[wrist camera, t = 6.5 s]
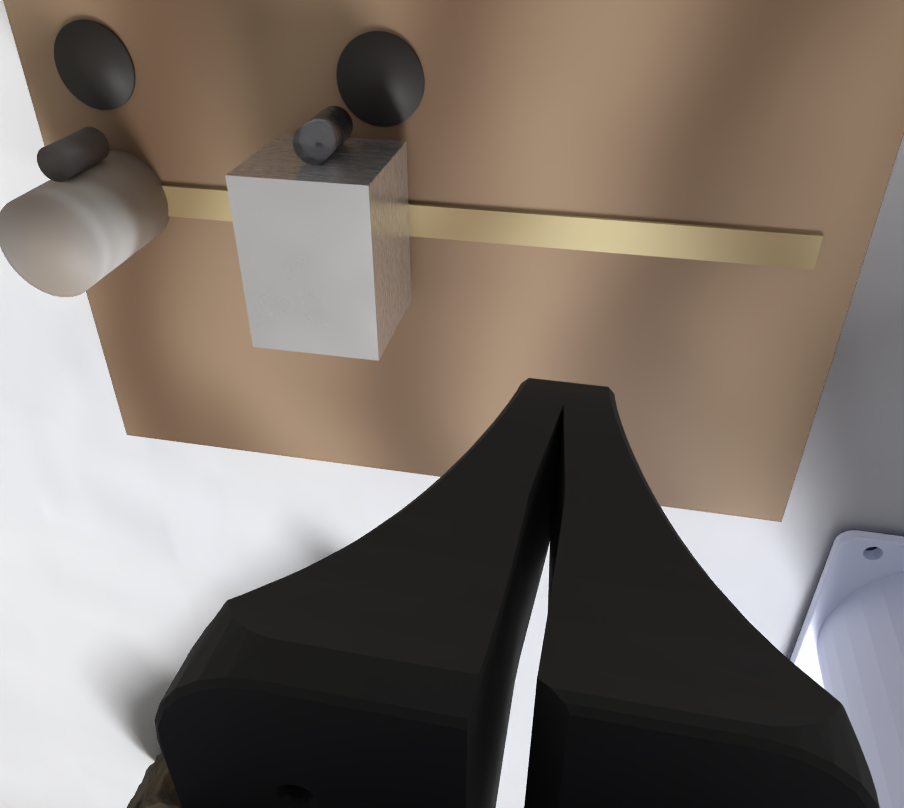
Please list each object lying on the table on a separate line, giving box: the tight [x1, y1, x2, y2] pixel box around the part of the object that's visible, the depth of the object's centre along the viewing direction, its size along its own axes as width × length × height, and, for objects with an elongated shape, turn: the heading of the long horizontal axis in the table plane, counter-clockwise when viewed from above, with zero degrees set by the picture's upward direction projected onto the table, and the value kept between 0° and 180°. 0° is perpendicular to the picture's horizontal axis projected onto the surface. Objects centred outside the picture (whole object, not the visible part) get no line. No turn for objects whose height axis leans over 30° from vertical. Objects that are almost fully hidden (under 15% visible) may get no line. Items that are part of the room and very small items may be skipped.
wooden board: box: [0, 0, 904, 522], centre depth 19 cm, size 20×14×5 cm
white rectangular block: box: [225, 106, 411, 361], centre depth 18 cm, size 3×5×3 cm, turn 0°
